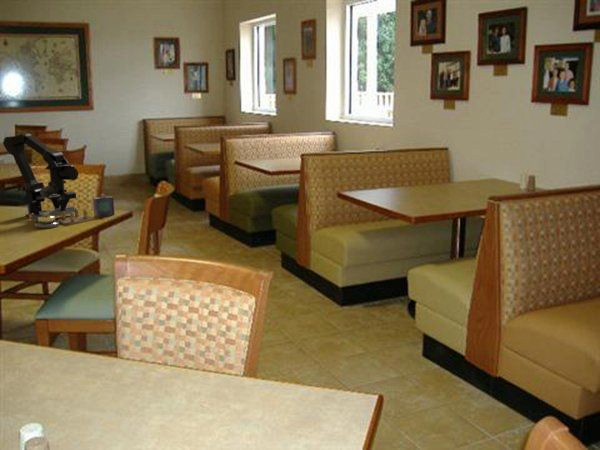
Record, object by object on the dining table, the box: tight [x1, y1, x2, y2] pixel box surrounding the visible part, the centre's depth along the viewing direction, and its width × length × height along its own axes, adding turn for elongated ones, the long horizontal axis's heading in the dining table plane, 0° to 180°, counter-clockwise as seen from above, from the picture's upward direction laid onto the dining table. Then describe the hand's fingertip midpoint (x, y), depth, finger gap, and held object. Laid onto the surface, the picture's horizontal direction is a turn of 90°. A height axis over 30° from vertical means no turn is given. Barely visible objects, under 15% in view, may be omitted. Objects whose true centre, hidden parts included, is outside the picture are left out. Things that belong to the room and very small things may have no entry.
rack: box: [56, 207, 95, 226], centre depth 280 cm, size 9×14×5 cm, turn 147°
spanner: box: [39, 205, 75, 218], centre depth 286 cm, size 5×16×3 cm, turn 147°
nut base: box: [34, 212, 60, 230], centre depth 270 cm, size 10×10×6 cm
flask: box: [92, 193, 115, 218], centre depth 290 cm, size 9×3×11 cm, turn 115°
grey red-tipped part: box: [28, 214, 56, 224], centre depth 272 cm, size 15×7×3 cm, turn 57°
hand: (60, 212), depth 287 cm, fingers closed on spanner, 3 cm apart
